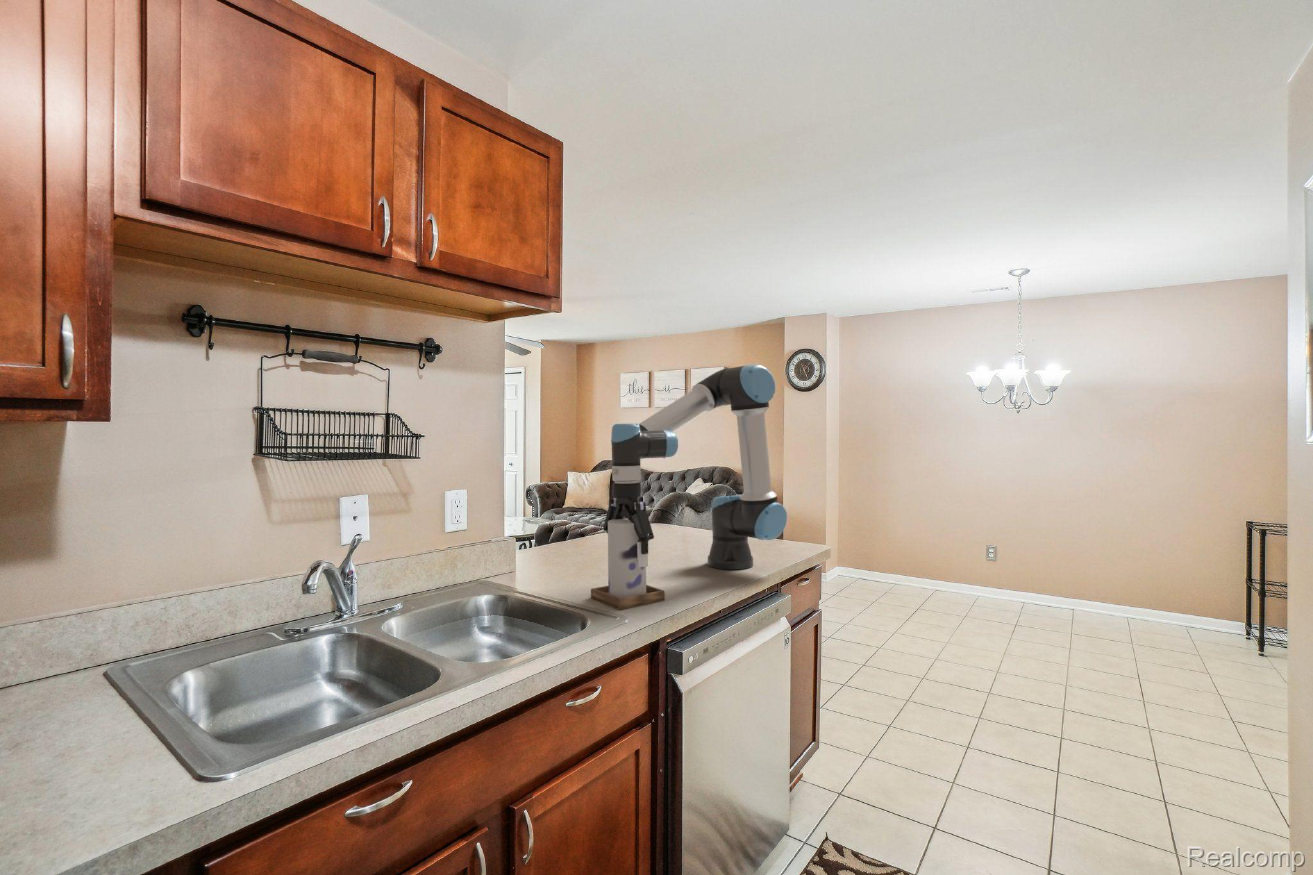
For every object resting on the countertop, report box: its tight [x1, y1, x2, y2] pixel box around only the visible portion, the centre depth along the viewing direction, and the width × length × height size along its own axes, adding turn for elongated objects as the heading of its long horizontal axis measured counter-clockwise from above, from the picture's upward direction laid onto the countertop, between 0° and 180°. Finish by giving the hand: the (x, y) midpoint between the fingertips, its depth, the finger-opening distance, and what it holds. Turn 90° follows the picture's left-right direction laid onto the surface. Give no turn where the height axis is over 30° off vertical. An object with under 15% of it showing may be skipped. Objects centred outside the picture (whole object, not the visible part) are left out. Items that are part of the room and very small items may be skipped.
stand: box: [590, 584, 666, 611], centre depth 158 cm, size 14×14×2 cm
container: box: [607, 517, 647, 599], centre depth 157 cm, size 10×10×20 cm
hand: (627, 562), depth 158 cm, fingers open, 13 cm apart
